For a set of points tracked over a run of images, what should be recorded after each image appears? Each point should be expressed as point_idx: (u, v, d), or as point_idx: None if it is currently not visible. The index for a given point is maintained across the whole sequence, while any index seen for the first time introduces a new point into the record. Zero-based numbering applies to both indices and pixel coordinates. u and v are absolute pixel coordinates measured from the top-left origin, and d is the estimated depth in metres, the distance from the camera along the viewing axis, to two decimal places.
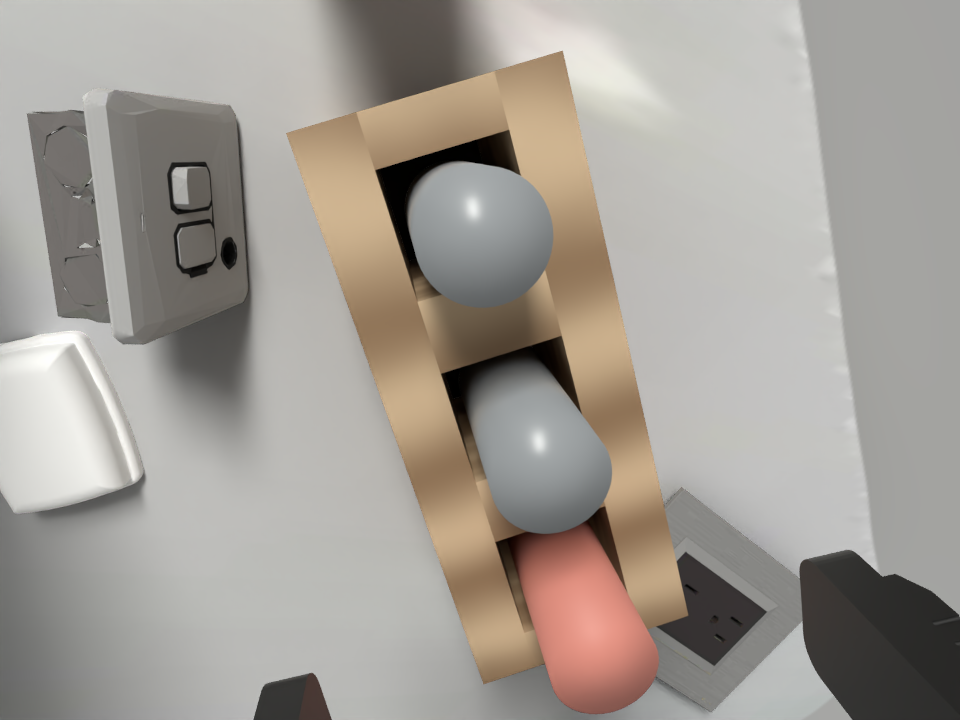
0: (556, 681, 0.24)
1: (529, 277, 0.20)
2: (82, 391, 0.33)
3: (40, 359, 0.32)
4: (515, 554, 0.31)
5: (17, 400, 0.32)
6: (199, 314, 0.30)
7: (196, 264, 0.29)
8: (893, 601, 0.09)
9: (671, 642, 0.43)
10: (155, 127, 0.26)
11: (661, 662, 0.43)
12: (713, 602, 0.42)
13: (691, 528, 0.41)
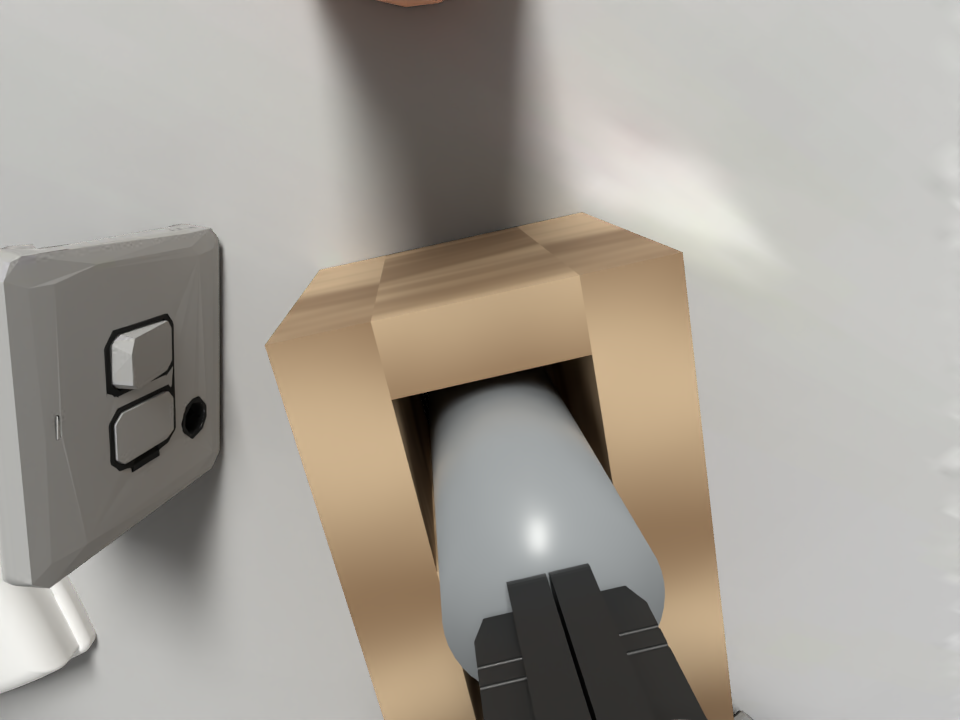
0: None
1: None
2: None
3: None
4: None
5: None
6: (144, 511, 0.22)
7: (142, 451, 0.22)
8: (597, 611, 0.10)
9: None
10: (88, 290, 0.18)
11: None
12: None
13: None
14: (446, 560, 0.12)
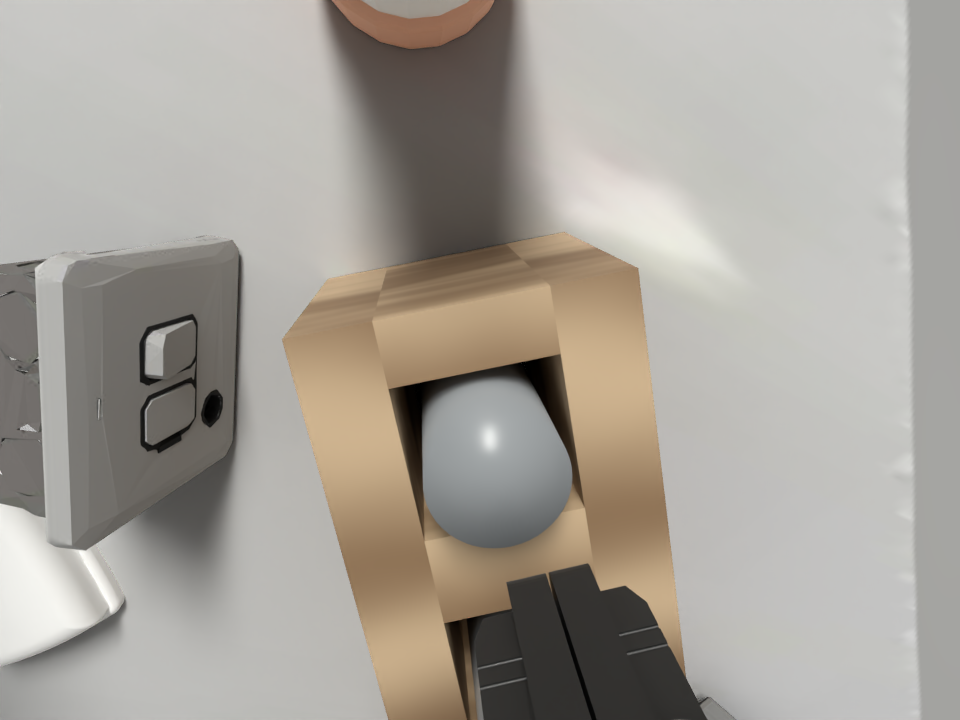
0: None
1: (542, 522, 0.19)
2: (27, 523, 0.28)
3: None
4: None
5: None
6: (166, 490, 0.25)
7: (167, 435, 0.24)
8: (596, 611, 0.10)
9: None
10: (129, 291, 0.21)
11: None
12: None
13: None
14: (427, 449, 0.18)
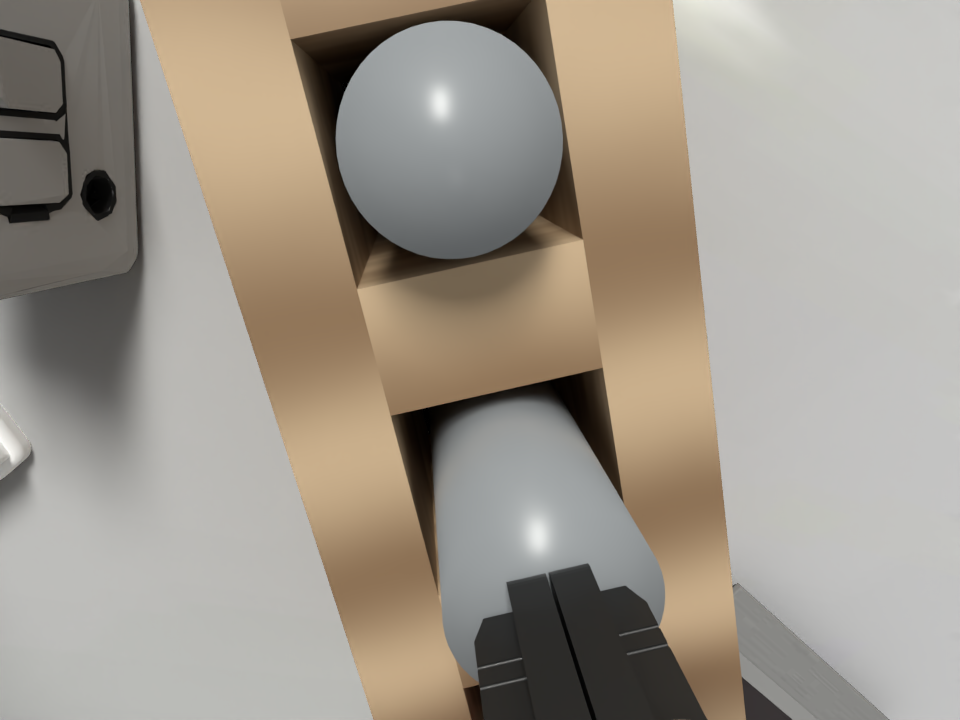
0: None
1: (519, 216, 0.13)
2: None
3: None
4: None
5: None
6: (29, 282, 0.19)
7: (23, 202, 0.18)
8: (597, 611, 0.10)
9: None
10: None
11: None
12: None
13: (745, 640, 0.29)
14: None
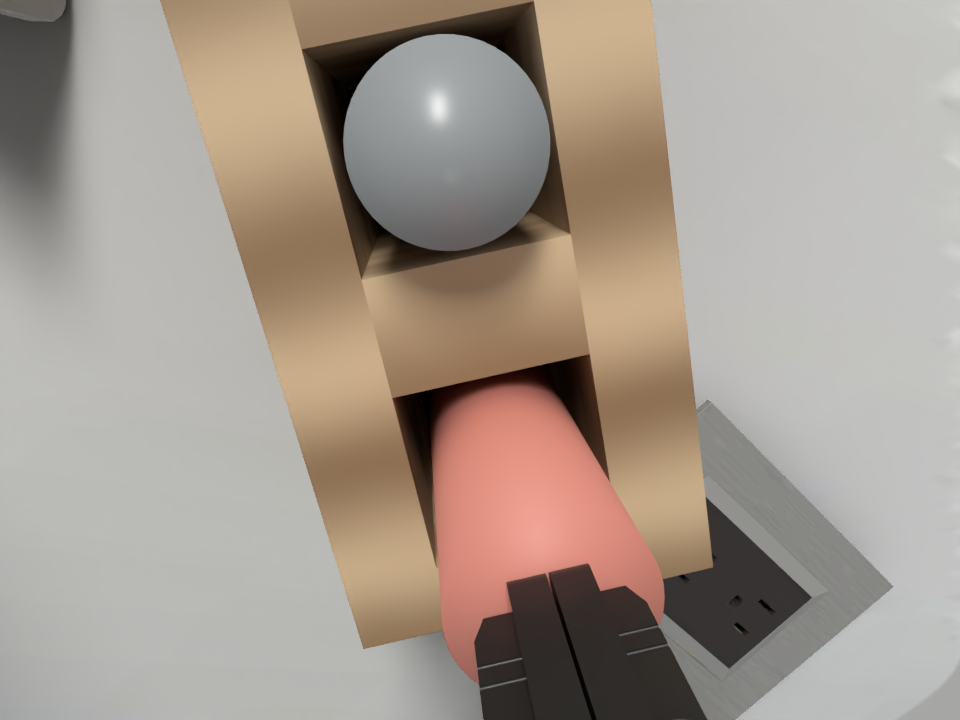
0: (454, 626, 0.12)
1: None
2: None
3: None
4: (432, 432, 0.19)
5: None
6: None
7: None
8: (597, 611, 0.10)
9: (671, 628, 0.30)
10: None
11: None
12: (737, 576, 0.29)
13: (716, 463, 0.28)
14: None
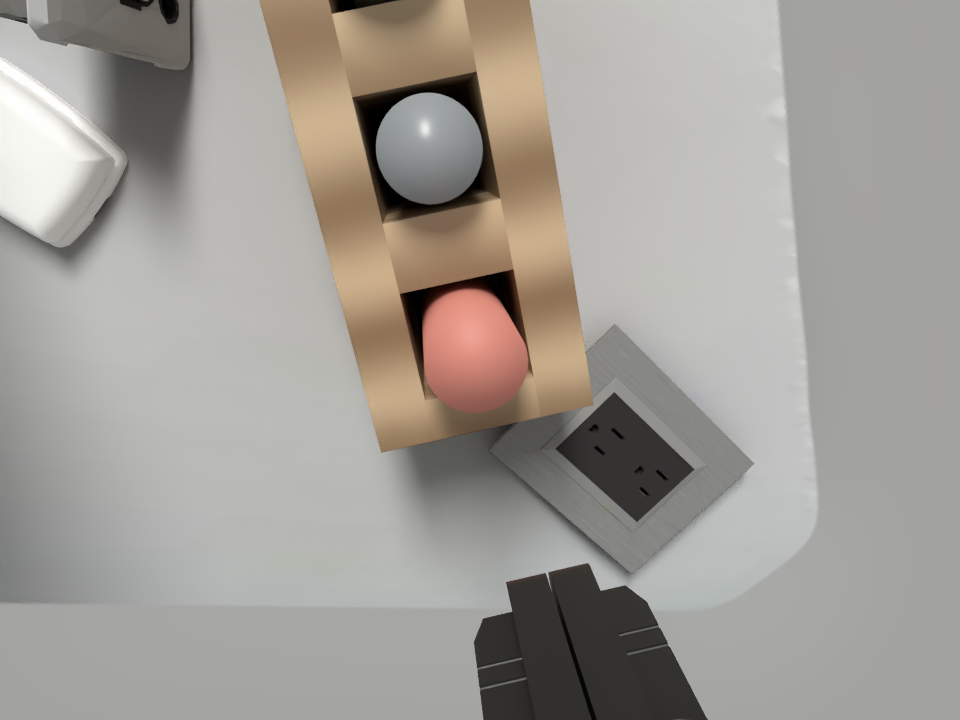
0: (429, 370, 0.26)
1: None
2: (2, 80, 0.33)
3: None
4: (422, 311, 0.33)
5: None
6: (129, 48, 0.30)
7: None
8: (597, 611, 0.10)
9: (594, 490, 0.42)
10: None
11: (583, 512, 0.43)
12: (639, 451, 0.42)
13: (621, 368, 0.40)
14: None
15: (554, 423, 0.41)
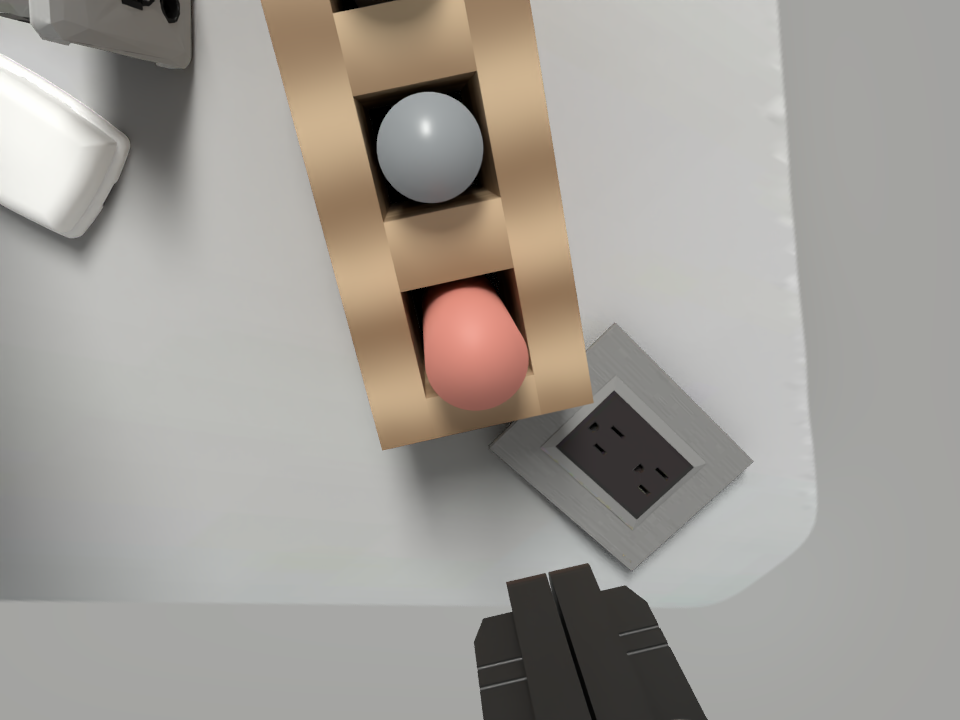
0: (430, 368, 0.26)
1: None
2: None
3: None
4: (423, 310, 0.33)
5: None
6: (131, 48, 0.30)
7: None
8: (597, 611, 0.10)
9: (594, 488, 0.42)
10: None
11: (583, 509, 0.43)
12: (639, 449, 0.42)
13: (621, 367, 0.40)
14: None
15: (554, 421, 0.41)
